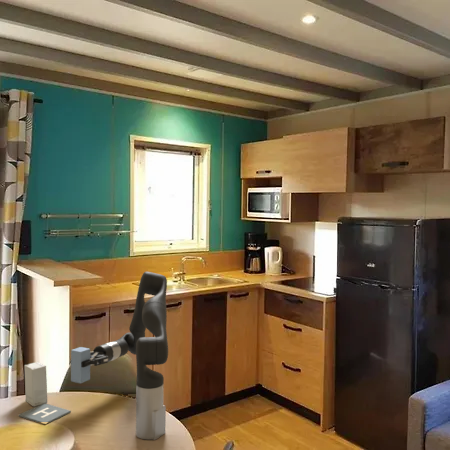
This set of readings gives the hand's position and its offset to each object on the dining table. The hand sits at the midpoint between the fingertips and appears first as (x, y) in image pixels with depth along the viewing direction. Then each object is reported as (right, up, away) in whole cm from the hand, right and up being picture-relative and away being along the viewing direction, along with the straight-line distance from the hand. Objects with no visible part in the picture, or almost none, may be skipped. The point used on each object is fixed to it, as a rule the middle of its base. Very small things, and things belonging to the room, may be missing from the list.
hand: (76, 363), depth 181 cm
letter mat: (-11, -18, -4) cm, 21 cm away
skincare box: (-18, -18, +7) cm, 26 cm away
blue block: (+1, -7, +2) cm, 7 cm away
